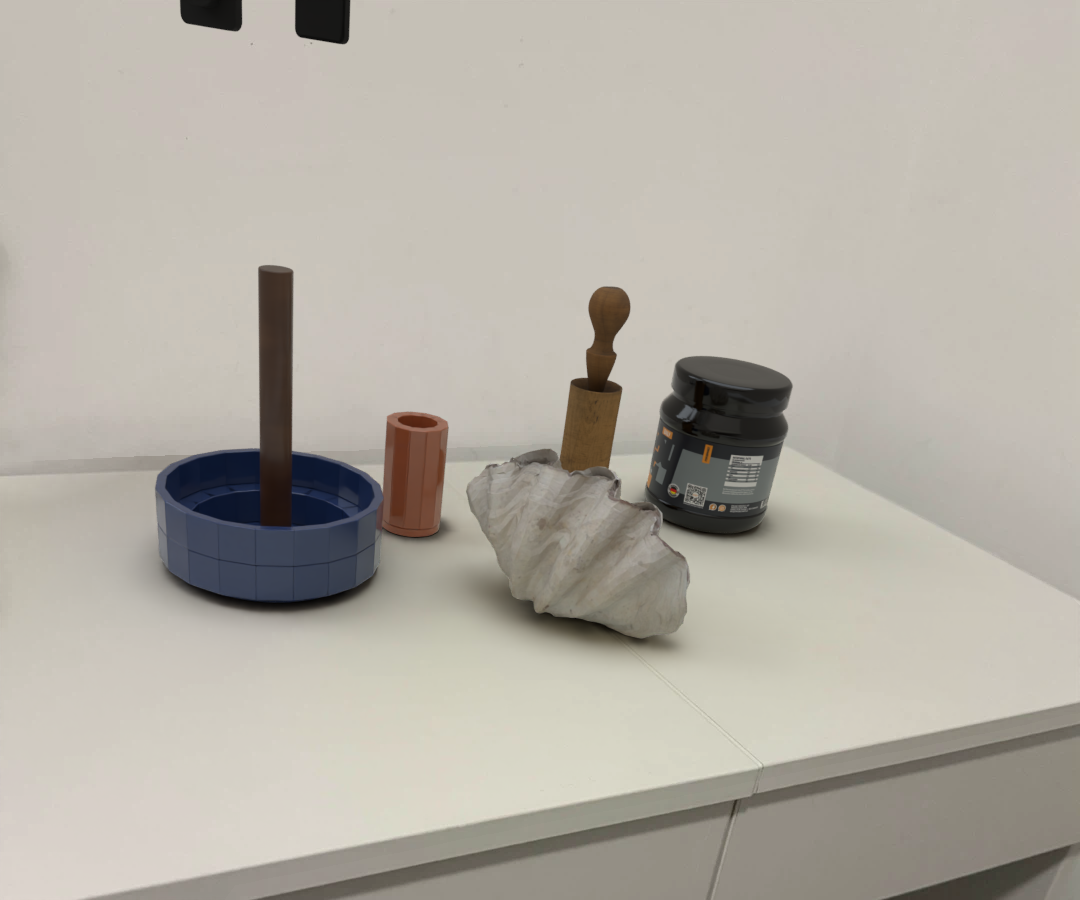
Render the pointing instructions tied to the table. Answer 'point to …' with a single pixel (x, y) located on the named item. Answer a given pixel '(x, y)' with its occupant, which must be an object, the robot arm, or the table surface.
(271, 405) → the stick
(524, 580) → the seashell
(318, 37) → the robot arm
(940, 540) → the table surface
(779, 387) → the supplement container
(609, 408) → the mortar and pestle
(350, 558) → the bowl
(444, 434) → the holder
